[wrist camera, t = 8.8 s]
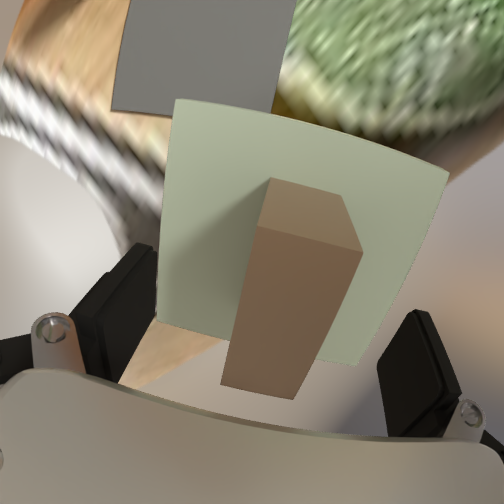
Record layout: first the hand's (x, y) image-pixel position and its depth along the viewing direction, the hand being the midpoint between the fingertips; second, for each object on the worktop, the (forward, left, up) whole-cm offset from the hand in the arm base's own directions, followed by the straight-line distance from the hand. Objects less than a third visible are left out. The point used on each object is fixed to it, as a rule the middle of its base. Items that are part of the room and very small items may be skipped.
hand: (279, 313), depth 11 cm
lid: (0, 0, -5) cm, 5 cm away
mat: (+11, -11, -21) cm, 26 cm away
